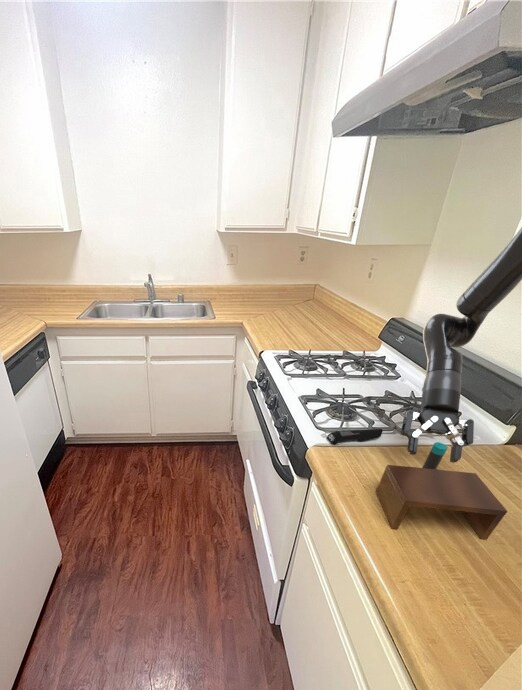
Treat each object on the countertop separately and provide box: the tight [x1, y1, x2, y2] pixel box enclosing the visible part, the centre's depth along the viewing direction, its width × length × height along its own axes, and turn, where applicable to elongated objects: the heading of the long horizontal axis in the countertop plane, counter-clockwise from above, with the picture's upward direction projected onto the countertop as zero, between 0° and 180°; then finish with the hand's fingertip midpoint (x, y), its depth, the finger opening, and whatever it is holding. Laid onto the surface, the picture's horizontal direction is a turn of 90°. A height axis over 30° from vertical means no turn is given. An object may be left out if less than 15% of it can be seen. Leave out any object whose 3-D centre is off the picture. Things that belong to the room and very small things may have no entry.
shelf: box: [375, 464, 508, 541], centre depth 71 cm, size 18×11×8 cm, turn 82°
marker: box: [421, 441, 448, 470], centre depth 80 cm, size 3×3×10 cm
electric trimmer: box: [326, 428, 383, 445], centre depth 96 cm, size 4×16×3 cm, turn 100°
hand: (433, 458), depth 80 cm, fingers open, 8 cm apart
